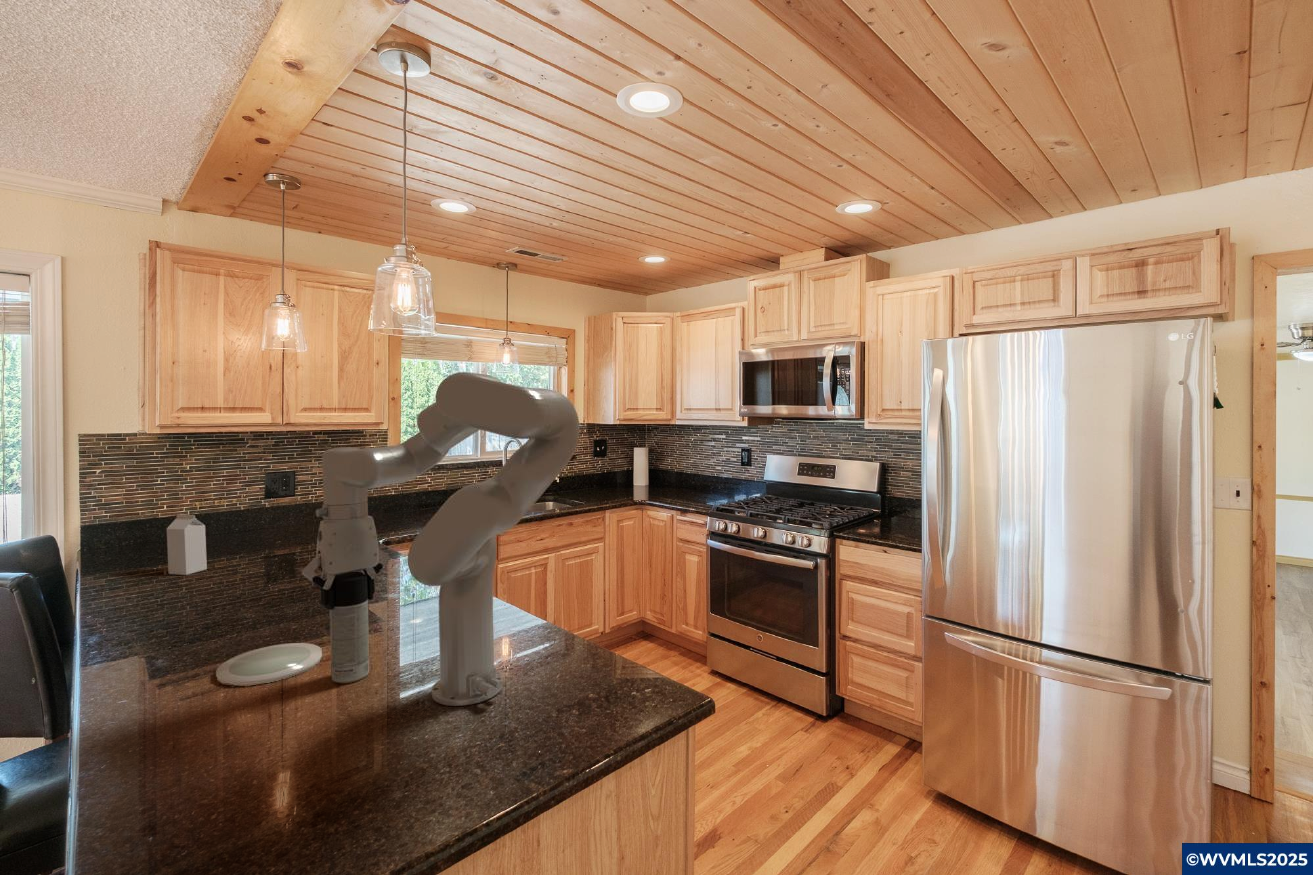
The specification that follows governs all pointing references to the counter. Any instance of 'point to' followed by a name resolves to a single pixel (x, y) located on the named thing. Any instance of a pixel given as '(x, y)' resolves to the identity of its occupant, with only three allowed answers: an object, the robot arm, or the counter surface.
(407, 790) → the counter surface
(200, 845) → the counter surface
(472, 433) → the robot arm
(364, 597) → the spray can
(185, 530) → the milk carton
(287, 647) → the dish
